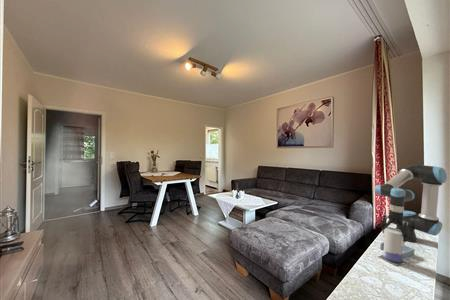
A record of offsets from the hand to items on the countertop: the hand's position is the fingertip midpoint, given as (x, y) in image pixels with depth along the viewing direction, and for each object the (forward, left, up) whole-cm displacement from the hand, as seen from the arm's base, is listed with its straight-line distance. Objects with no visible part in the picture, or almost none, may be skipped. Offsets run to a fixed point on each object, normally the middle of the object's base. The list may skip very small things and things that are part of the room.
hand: (393, 241), depth 139 cm
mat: (0, 0, -13) cm, 13 cm away
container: (0, 0, -12) cm, 12 cm away
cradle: (-14, -4, -13) cm, 20 cm away
